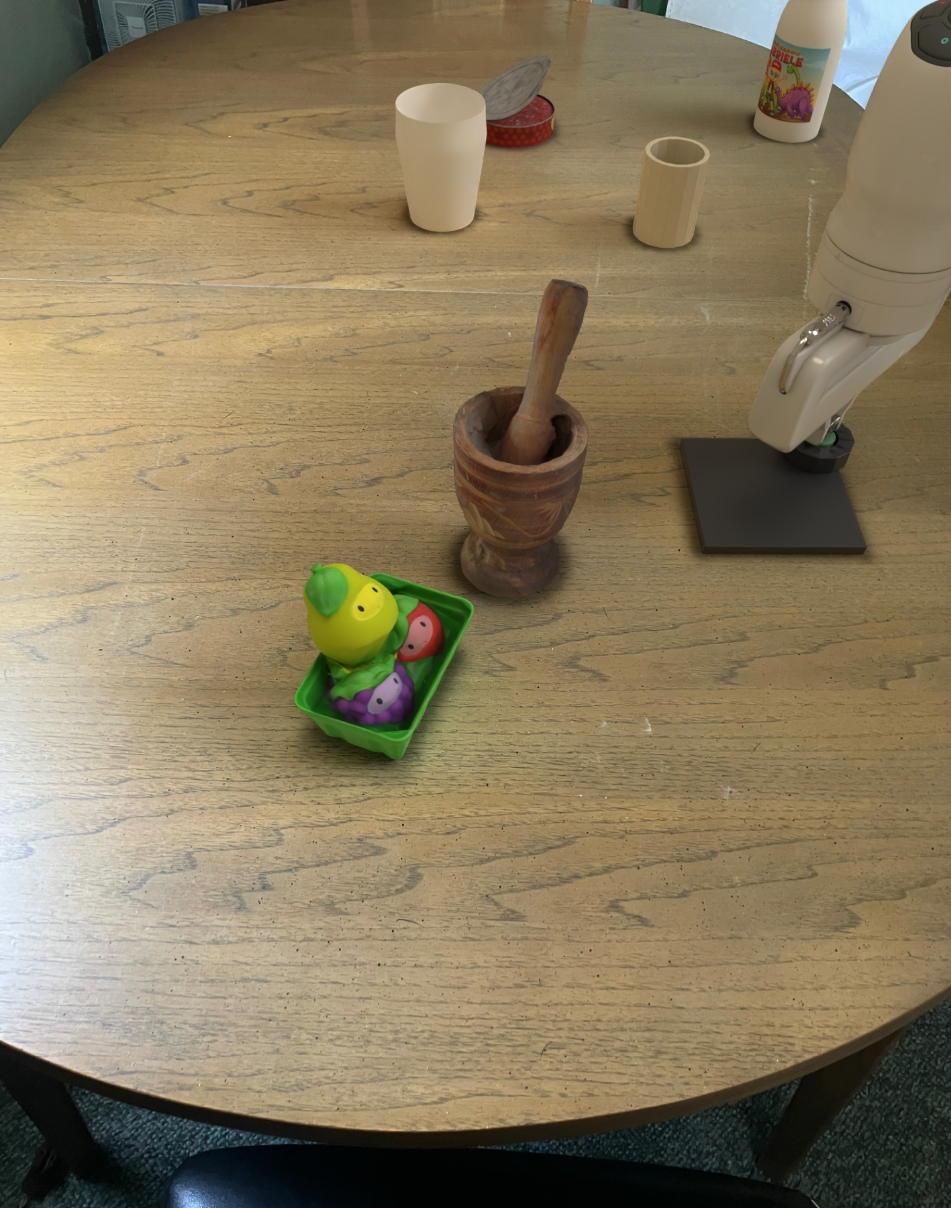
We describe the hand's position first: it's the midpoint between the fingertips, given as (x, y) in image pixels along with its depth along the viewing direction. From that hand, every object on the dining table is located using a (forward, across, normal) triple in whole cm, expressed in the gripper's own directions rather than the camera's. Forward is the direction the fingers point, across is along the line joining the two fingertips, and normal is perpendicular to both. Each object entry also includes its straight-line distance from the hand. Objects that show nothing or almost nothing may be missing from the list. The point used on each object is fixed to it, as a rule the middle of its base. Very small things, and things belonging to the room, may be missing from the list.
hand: (818, 434), depth 75 cm
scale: (+3, -6, 0) cm, 7 cm away
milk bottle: (+3, +49, +34) cm, 60 cm away
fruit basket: (+4, -40, +8) cm, 40 cm away
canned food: (+3, +25, +56) cm, 62 cm away
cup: (+3, +5, +48) cm, 48 cm away
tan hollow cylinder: (+3, +19, +30) cm, 35 cm away
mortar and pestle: (+4, -24, +10) cm, 26 cm away
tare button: (+1, 0, 0) cm, 1 cm away
